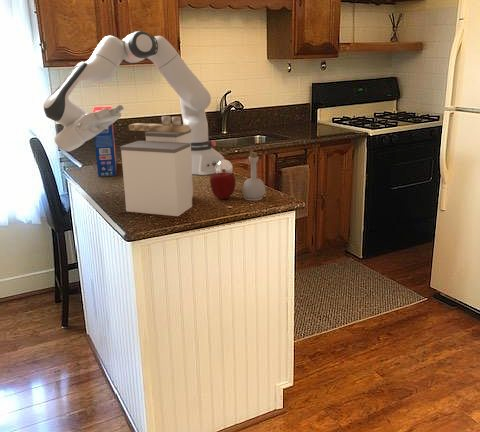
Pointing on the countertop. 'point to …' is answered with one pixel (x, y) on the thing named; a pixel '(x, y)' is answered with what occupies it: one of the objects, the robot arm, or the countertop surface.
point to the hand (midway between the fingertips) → (115, 108)
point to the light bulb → (224, 166)
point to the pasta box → (105, 150)
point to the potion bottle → (253, 182)
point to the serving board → (162, 125)
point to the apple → (222, 184)
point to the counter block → (158, 173)
